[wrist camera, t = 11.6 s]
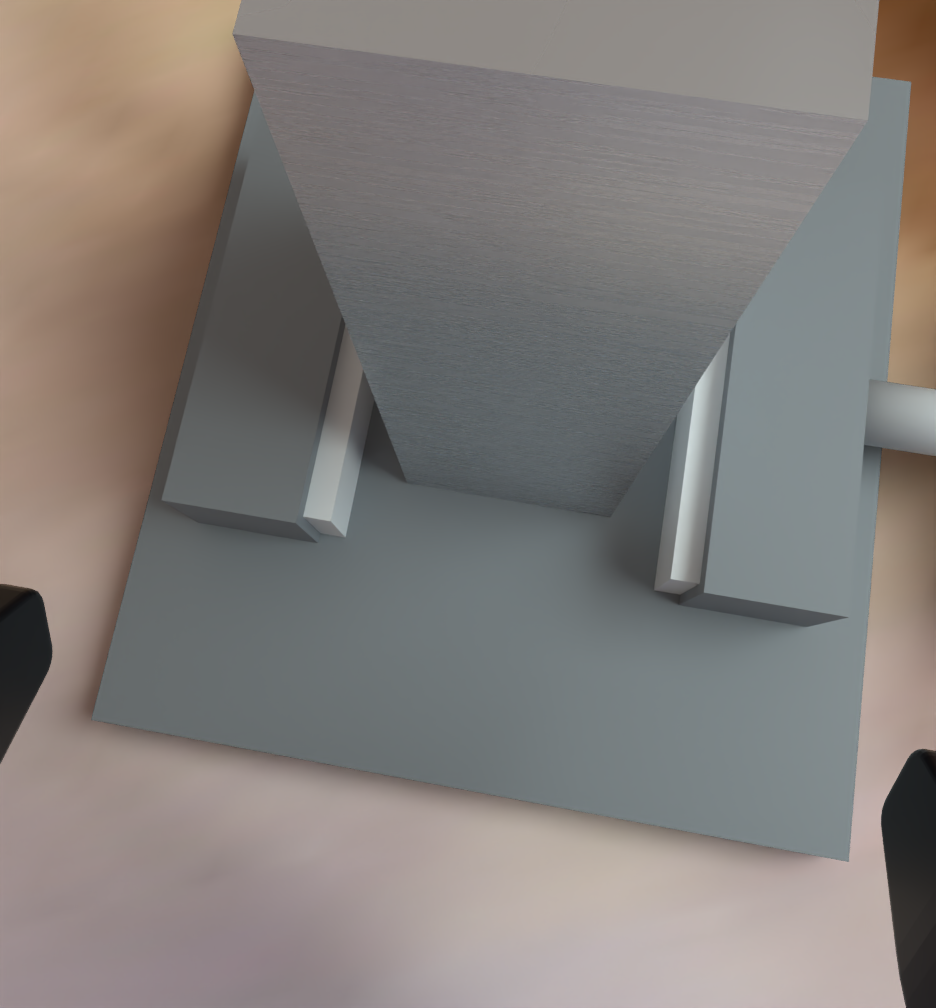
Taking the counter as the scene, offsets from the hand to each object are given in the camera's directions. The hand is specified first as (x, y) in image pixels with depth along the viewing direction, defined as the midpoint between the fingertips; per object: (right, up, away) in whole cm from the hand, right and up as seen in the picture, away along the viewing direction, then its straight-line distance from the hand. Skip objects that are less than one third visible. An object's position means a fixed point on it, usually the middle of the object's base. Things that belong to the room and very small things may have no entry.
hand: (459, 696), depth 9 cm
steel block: (+1, +4, +9) cm, 10 cm away
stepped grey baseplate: (+3, +4, +9) cm, 11 cm away
